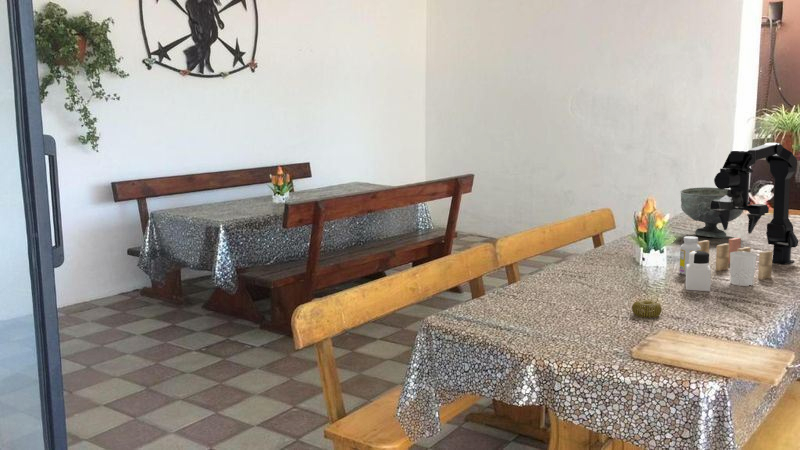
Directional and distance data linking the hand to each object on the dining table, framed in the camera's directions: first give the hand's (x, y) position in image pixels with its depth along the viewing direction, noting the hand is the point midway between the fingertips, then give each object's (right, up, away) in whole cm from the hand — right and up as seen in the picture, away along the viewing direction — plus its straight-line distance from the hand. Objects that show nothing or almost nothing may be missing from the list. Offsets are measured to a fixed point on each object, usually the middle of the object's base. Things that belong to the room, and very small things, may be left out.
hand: (737, 231), depth 255 cm
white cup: (-4, -17, -12) cm, 22 cm away
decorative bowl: (+21, -3, +70) cm, 73 cm away
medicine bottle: (-20, -18, -17) cm, 32 cm away
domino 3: (+7, -12, +18) cm, 23 cm away
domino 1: (-6, -13, +15) cm, 20 cm away
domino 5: (+7, -16, -5) cm, 18 cm away
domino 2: (-2, -14, +8) cm, 16 cm away
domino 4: (+2, -15, +1) cm, 15 cm away
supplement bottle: (-15, -15, +3) cm, 22 cm away
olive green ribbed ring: (-46, -24, -44) cm, 68 cm away
